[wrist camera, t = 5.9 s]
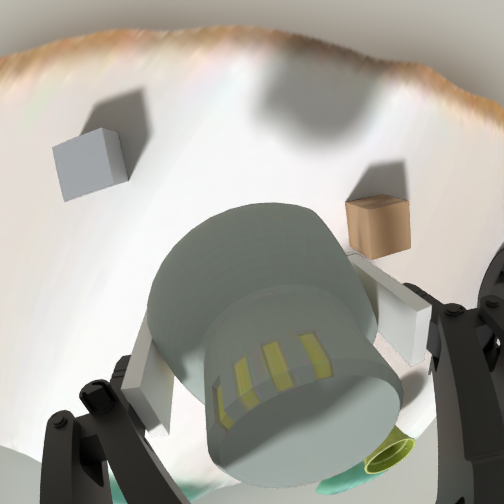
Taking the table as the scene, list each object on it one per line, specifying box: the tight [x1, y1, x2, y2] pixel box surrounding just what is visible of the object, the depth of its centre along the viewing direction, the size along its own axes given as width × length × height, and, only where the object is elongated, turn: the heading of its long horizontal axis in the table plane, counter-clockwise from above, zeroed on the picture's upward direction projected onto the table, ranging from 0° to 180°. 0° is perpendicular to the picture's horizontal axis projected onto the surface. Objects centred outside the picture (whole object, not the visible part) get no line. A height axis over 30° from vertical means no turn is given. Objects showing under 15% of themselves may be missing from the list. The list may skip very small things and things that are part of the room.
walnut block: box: [345, 195, 411, 260], centre depth 29 cm, size 5×5×5 cm
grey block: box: [52, 127, 129, 202], centre depth 23 cm, size 5×5×5 cm
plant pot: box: [364, 425, 415, 474], centre depth 39 cm, size 9×9×9 cm
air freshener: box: [147, 203, 403, 488], centre depth 12 cm, size 11×8×10 cm
